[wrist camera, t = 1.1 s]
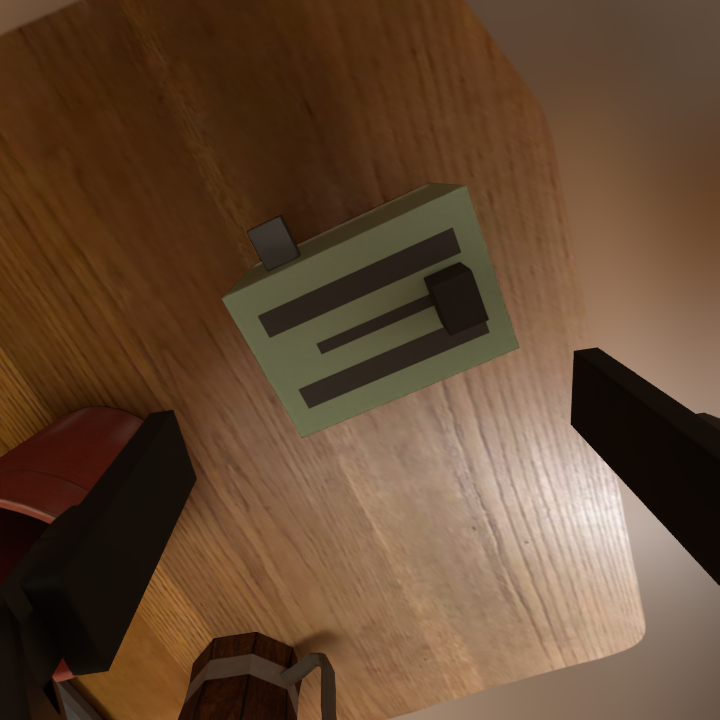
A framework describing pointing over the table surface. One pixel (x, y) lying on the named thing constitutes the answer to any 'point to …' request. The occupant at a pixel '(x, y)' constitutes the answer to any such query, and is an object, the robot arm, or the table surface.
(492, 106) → the table surface
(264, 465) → the table surface
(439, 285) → the slider
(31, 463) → the flower pot
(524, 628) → the table surface
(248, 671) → the mug
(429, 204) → the toaster
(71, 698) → the book
